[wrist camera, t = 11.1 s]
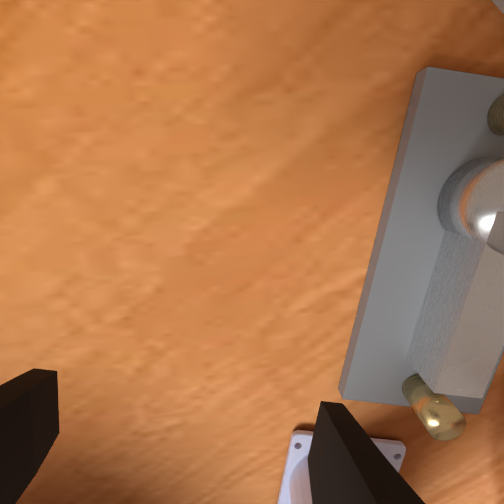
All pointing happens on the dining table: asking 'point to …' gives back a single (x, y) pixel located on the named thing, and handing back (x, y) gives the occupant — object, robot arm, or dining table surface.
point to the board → (416, 230)
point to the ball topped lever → (465, 285)
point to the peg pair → (414, 387)
